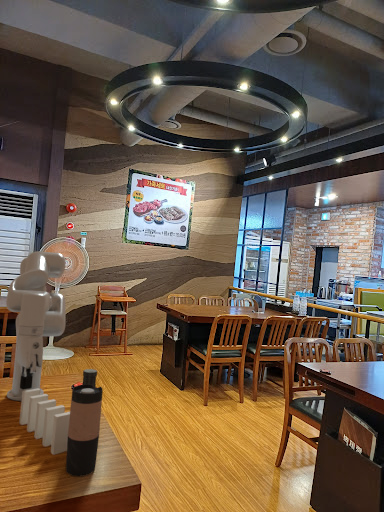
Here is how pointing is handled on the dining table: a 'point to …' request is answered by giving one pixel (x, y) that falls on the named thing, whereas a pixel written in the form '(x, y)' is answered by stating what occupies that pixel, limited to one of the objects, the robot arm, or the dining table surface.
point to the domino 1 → (26, 404)
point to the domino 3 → (42, 416)
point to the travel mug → (83, 429)
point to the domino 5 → (60, 433)
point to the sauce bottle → (89, 377)
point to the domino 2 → (34, 410)
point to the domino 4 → (50, 423)
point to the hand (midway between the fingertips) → (25, 388)
